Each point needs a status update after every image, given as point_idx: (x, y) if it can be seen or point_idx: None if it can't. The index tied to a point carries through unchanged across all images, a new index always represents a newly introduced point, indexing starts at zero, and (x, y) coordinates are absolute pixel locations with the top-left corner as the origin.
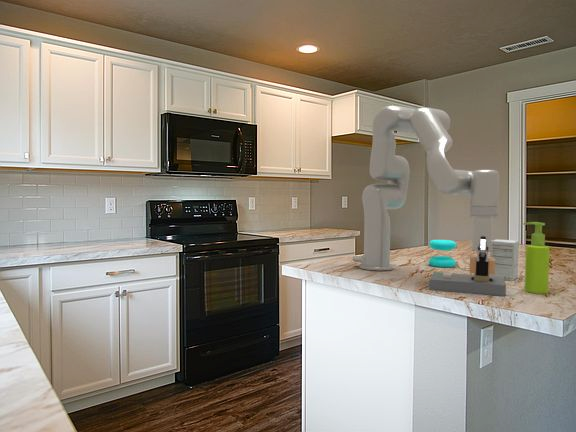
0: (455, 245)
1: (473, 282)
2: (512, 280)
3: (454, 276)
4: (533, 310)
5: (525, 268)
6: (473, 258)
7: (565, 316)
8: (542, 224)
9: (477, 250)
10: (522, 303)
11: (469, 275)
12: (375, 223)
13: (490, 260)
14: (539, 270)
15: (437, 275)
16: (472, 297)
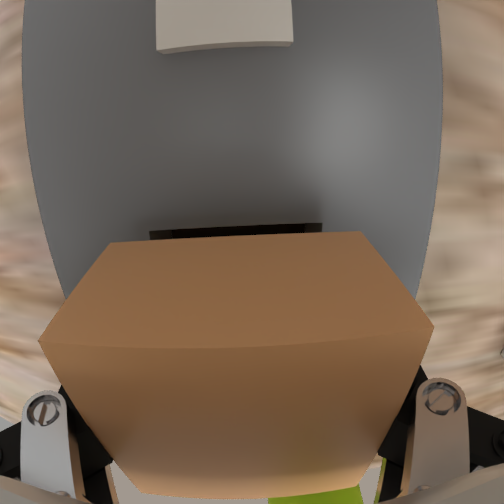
0: None
1: (58, 253)
2: (501, 352)
3: (265, 70)
4: (3, 388)
5: (321, 497)
6: (185, 388)
7: (14, 423)
8: None
9: (413, 491)
10: (52, 385)
11: (388, 203)
12: None
13: (139, 480)
14: None
15: None
16: (2, 230)
